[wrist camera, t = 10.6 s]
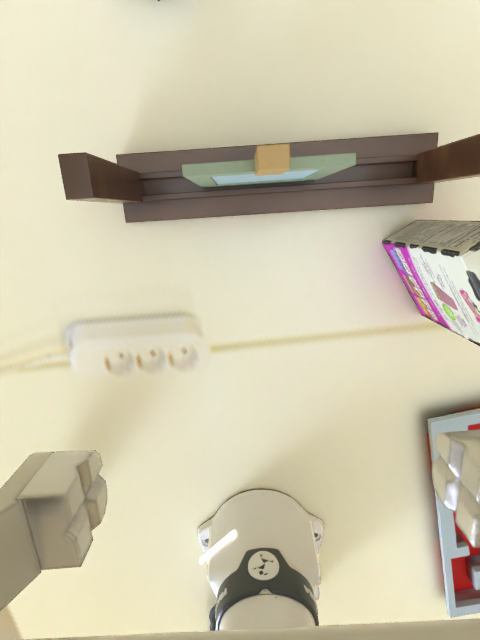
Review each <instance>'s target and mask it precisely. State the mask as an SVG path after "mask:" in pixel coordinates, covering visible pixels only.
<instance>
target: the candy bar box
mask: <svg viewBox="0 0 480 640" xmlns="http://www.w3.org/2000/svg"><path fill="white" fill-rule="evenodd" d="M382 243H383V245H384V247H385V249H386V251H387V252H388V254H389V256H390V258H391V260H392V262H393V263H394V265H395V267H396V269H397V271H398V272H399V274H400V276H401V278H402V280H403V282H404V283H405V285H406V287H407V289H408V291H409V293H410V295H411V296H412V298H413V300H414V302H415V304H416V306H417V308H418V309H419V311H420V313H421V315H422V316H425V317H426V318H428V319H430V320H432V321H434V322H435V323H438V324H440V325H441V326H443V327H445V328H447V329H449V330H451V331H452V332H454V333H456V334H458V335H461V336H462V337H464V338H465V339H467V340H469V341H471V342H473V343H475V344H477V345H479V346H480V221H438V220H416V221H414V222H413V223H411V224H409V225H408V226H406V227H405V228H403V229H402V230H400V231H398V232H397V233H395V234H393V235H392V236H390V237H388V238H387V239H385V240H383V241H382Z"/></svg>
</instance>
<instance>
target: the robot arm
mask: <svg viewBox="0 0 480 640" xmlns="http://www.w3.org/2000/svg"><path fill="white" fill-rule="evenodd" d="M434 448H435V450H436V451H437V452H438V454H439V457H438V458H437V459H436V460H435V461H434V462H433V463H432V480H433V485H434V489H435V491H436V493H437V496H438V498H439V499H440V501H441V502H442V504H443V505H444V506H445V507H447V508H448V509H450V510H452V511H453V512H455V513H456V518H455V522H456V524H457V525H458V527H459V528H460V530H461V531H462V532H463V534H464V535H465V537H466V538H467V540H468V541H469V542H470V544H471V545H472V547H473V548H480V430H466V431H451V432H438V433H437V435H436V437H435V443H434ZM101 467H102V461H101V457H100V453H98V452H97V451H96V450H91V451H60V452H39V453H34V454H31V455H30V456H29V457H28V458H27V459H26V460H25V461H24V463H23V464H22V465H21V466H20V467H19V468H18V470H17V471H16V472H15V473H14V474H13V475H12V476H11V478H10V479H9V480H8V481H7V482H6V483H5V484H4V486H3V487H2V488H1V489H0V611H1V610H2V609H3V608H4V607H5V606H6V605H7V604H9V603H10V602H11V601H12V600H13V599H14V598H15V597H16V596H17V595H18V594H19V593H20V592H21V591H22V590H23V589H24V588H25V587H26V586H27V585H28V584H29V583H30V582H31V581H33V580H34V579H35V578H36V577H37V576H38V575H39V574H40V573H41V570H46V569H58V568H71V567H81V565H82V563H83V561H84V559H85V557H86V554H87V552H88V550H89V548H90V546H91V543H92V541H93V537H92V532H91V531H92V530H93V529H94V528H95V527H97V526H98V525H99V524H100V523H101V521H102V519H103V516H104V514H105V510H106V504H107V486H106V481H105V480H104V479H103V478H102V477H101V476H100V475H99V474H98V473H99V471H100V469H101ZM314 533H315V534H314ZM323 534H324V524H323V522H322V521H321V520H320V519H319V518H317V517H315V516H313V515H310V514H308V513H307V512H306V511H305V510H304V509H303V508H302V507H301V506H300V504H299V503H298V502H296V501H295V500H294V499H292V498H291V497H289V496H287V495H285V494H283V493H280V492H277V491H272V490H251V491H246V492H243V493H240V494H238V495H236V496H234V497H232V498H230V499H229V500H228V501H226V502H225V503H224V504H223V505H222V506H221V507H220V509H219V510H218V511H217V513H216V514H215V516H214V517H213V518H212V519H210V520H208V521H207V522H205V523H204V524H202V525H201V526H200V527H199V529H198V538H199V540H200V543H201V546H202V548H203V551H204V555H203V556H202V557H201V558H200V561H199V563H200V564H202V563H203V562H204V561H205V560H206V559H207V562H208V563H207V580H208V581H209V582H210V584H211V587H212V590H213V592H214V594H215V596H216V597H217V603H216V604H215V605H214V607H213V608H212V609H211V611H210V615H209V618H210V621H211V626H210V631H196V632H174V633H153V634H132V635H110V636H89V637H68V638H45V639H22V640H480V619H461V620H439V621H417V622H395V623H373V624H350V625H328V626H319V622H318V615H317V614H318V609H317V604H316V600H318V599H319V585H320V584H321V569H320V563H319V557H318V554H319V550H320V546H321V542H322V538H323ZM215 630H216V631H215Z"/></svg>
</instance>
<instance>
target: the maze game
mask: <svg viewBox="0 0 480 640" xmlns="http://www.w3.org/2000/svg"><path fill="white" fill-rule="evenodd" d="M427 420H428V430H429V434H427V435H428V444H429V453H430V461H431V470H432V463H433V462H434V461H435V460H436V459H437V458H438V457H439V454H438V452H437V451H436V450H435V448H434V443H435V437H436V435H437V433H438V432H451V431H466V430H480V407H479V408H474V409H469V410H464V411H459V412H454V414H450V415H445V416H440V417H435V418H430V419H427ZM435 497H436V507H437V516H438V526H439V536H440V540H439V541H440V550H441V558H442V567H443V576H444V585H445V593H446V603H447V612H448V614H449V616H450V618H451V617H457V616H463V615H469V614H475V613H480V548H473V547H472V545H471V544H470V542H469V541H468V540H467V538H466V537H465V535H464V534H463V532H462V531H461V530H460V528H459V527H458V525H457V524H456V522H455V518H456V513H455V512H453V511H452V510H450V509H448V508H447V507H445V506H444V505H443V504H442V502H441V501H440V499H439V498H438V496H437V493H436V491H435Z"/></svg>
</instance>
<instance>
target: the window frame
mask: <svg viewBox="0 0 480 640" xmlns="http://www.w3.org/2000/svg"><path fill="white" fill-rule="evenodd" d="M437 143H438V133H424V134H409V135H395V136H380V137H366V138H351V139H337V140H322V141H308V142H294V143H279V144H290V157H301V156H316V155H330V154H345V153H356V165H354V166H351V167H349V168H346V169H343V170H341V171H338V172H336V173H333V174H331V175H328V176H325V177H323V178H320V179H318V180H311V181H296V182H281V183H267V184H252V185H237V186H222V187H207V188H202V187H200V186H199V185H197V184H195V183H194V182H192V181H190V180H189V179H187V178H185V177H183V173H182V165H184V164H199V163H213V162H228V161H242V160H255V157H254V156H255V152H256V148H257V146H260V145H250V146H236V147H221V148H207V149H192V150H178V151H163V152H149V153H134V154H120V155H116V158H117V164H115V163H112V162H110V161H107V160H104V159H102V158H99V157H96V156H94V155H91V154H88V153H86V152H85V153H70V154H59V155H58V157H59V163H60V168H61V173H62V179H63V184H64V189H65V195H66V199H67V200H76V201H93V202H110V203H123V206H124V212H125V219H126V223H129V222H144V221H159V220H175V219H190V218H205V217H220V216H235V215H251V214H266V213H281V212H296V211H311V210H327V209H342V208H357V207H372V206H387V205H403V204H418V203H432V202H433V192H434V183H436V182H444V181H451V180H458V179H465V178H472V177H479V176H480V134H478V135H474V136H471V137H468V138H465V139H462V140H459V141H456V142H452V143H449V144H446V145H443V146H440V147H437ZM265 145H274V144H265Z"/></svg>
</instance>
